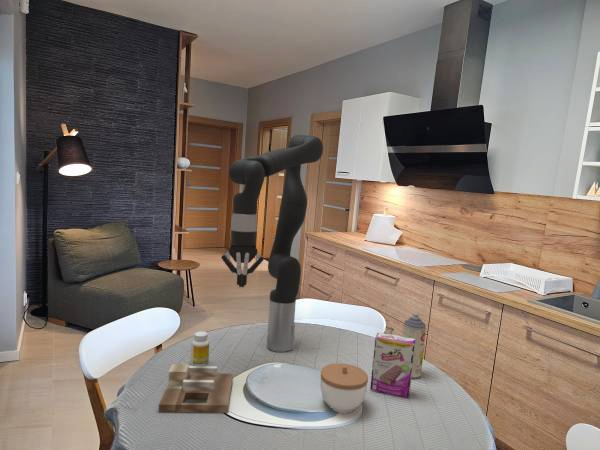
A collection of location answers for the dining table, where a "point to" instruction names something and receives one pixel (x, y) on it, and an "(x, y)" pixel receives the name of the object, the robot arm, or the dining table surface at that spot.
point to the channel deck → (199, 392)
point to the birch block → (178, 374)
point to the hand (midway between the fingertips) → (241, 286)
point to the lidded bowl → (343, 386)
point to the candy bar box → (392, 364)
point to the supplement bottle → (200, 349)
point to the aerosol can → (416, 331)
